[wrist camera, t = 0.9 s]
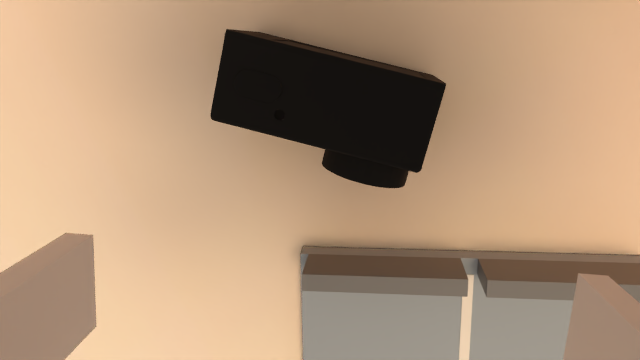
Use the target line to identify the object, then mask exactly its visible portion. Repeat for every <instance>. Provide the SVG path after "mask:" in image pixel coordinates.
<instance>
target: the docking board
mask: <svg viewBox="0 0 640 360" xmlns="http://www.w3.org/2000/svg"><path fill="white" fill-rule="evenodd" d="M578 273H581V274H593V275H606V276H609V277H610V278H611V279H612V280H614V281H615V282H616V283H617V284H618V285H619V286H620V287H622V288H623V289H624V290H625V291H626V292H627V293H629V294H630V295H631V296H632V297H633V298H634V299H635V300H637V301H638V302H639V303H640V255H606V254H568V253H530V252H492V251H454V250H416V249H378V248H340V247H303V248H302V251H301V294H302V333H303V360H563V357H564V351H565V346H566V340H567V334H568V329H569V323H570V317H571V312H572V306H573V301H574V295H575V289H576V284H577V278H578Z"/></svg>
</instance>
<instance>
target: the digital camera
mask: <svg viewBox="0 0 640 360" xmlns="http://www.w3.org/2000/svg"><path fill="white" fill-rule="evenodd" d="M445 87H446V83H444V82H443V81H441V80H440V79H438V78H436V77H435V76H433V75H430V74H426V73H422V72H418V71H414V70H410V69H406V68H402V67H398V66H394V65H390V64H386V63H381V62H377V61H373V60H369V59H365V58H361V57H357V56H353V55H349V54H345V53H341V52H337V51H333V50H329V49H325V48H321V47H317V46H313V45H309V44H305V43H301V42H297V41H293V40H289V39H285V38H281V37H277V36H273V35H269V34H265V33H261V32H252V31H241V30H229V29H227V30H226V33H225V38H224V44H223V50H222V55H221V61H220V66H219V71H218V77H217V82H216V88H215V93H214V99H213V104H212V109H211V119H212V120H214V121H218V122H222V123H226V124H230V125H234V126H238V127H241V128H245V129H249V130H253V131H257V132H261V133H265V134H269V135H272V136H276V137H280V138H284V139H288V140H292V141H296V142H300V143H304V144H307V145H311V146H315V147H319V148H323V149H325V153H324V157H323V161H322V165H323V166H324V167H325V168H326V169H327V170H329V171H331V172H332V173H334V174H336V175H338V176H341V177H343V178H346V179H349V180H352V181H355V182H359V183H362V184H367V185H371V186H376V187H383V188H400V187H403V186H404V185H405V182H406V179H407V175H408V171H412V172H416V173H417V172H419V171H420V170H421V169H422V165H423V161H424V158H425V154H426V151H427V148H428V144H429V141H430V138H431V134H432V131H433V127H434V124H435V121H436V117H437V114H438V110H439V107H440V104H441V100H442V97H443V94H444V90H445Z"/></svg>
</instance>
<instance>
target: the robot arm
mask: <svg viewBox="0 0 640 360" xmlns="http://www.w3.org/2000/svg"><path fill="white" fill-rule="evenodd" d="M95 327H96V304H95V276H94V248H93V235H86V234H73V233H65V234H63V235H62V236H60V237H58V238H57V239H55V240H54V241H52V242H50V243H49V244H47V245H45V246H44V247H42V248H40V249H39V250H37V251H36V252H34V253H32V254H31V255H29V256H27V257H26V258H24V259H22V260H21V261H19V262H18V263H16V264H14V265H13V266H11V267H9V268H8V269H6V270H4V271H3V272H1V273H0V360H65V358H66V357H67V356H68V355H69V354H70V353H71V352H72V351H73V350H74V349H75V348H76V347H77V346H78V345H79V344H80V343H81V342H82V341H83V340H84V339H85V338H86V337H87V336H88V334H89V333H90V332H91V331H92V330H93V329H94V328H95ZM563 360H640V303H639V302H638V301H637V300H635V299H634V298H633V297H632V296H631V295H630V294H629V293H627V292H626V291H625V290H624V289H623V288H622V287H620V286H619V285H618V284H617V283H616V282H615V281H614V280H612V279H611V278H610V277H609V276H606V275H593V274H581V273H578V278H577V284H576V289H575V295H574V301H573V306H572V312H571V317H570V323H569V329H568V334H567V340H566V346H565V351H564V357H563Z"/></svg>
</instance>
